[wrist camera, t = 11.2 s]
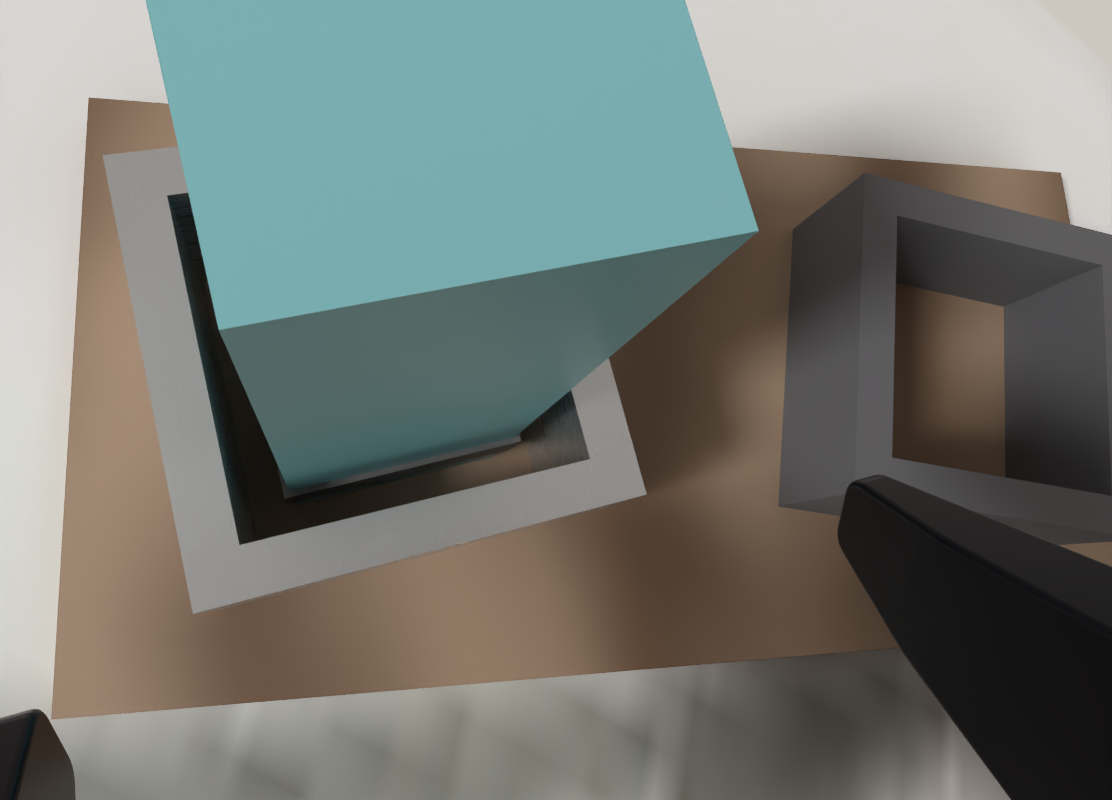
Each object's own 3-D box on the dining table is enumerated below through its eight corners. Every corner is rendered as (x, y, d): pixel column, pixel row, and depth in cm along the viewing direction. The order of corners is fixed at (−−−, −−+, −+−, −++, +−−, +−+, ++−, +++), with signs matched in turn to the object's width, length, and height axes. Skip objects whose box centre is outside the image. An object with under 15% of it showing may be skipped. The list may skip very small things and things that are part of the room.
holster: (1034, 546, 21) (1144, 539, 18) (778, 506, 19) (854, 492, 17) (1029, 283, 23) (1130, 239, 20) (792, 229, 21) (864, 173, 18)
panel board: (1038, 185, 24) (1060, 172, 24) (1117, 625, 22) (1144, 626, 21) (98, 117, 18) (88, 97, 18) (64, 713, 16) (51, 719, 15)
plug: (496, 460, 18) (773, 240, 7) (291, 511, 17) (205, 348, 6) (447, 272, 19) (624, -222, 7) (245, 308, 17) (81, -215, 6)
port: (582, 514, 18) (646, 494, 14) (225, 608, 16) (192, 613, 12) (497, 199, 19) (538, 104, 16) (153, 251, 17) (102, 155, 13)
